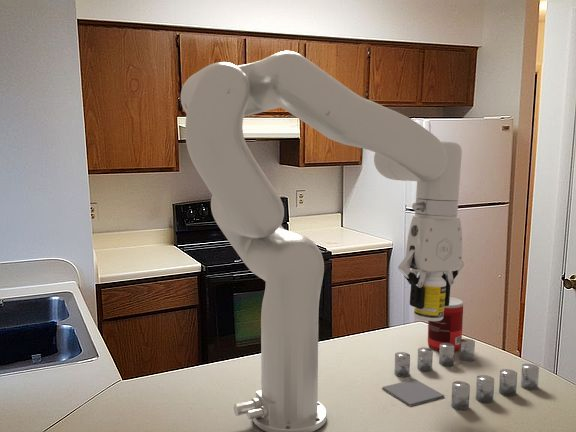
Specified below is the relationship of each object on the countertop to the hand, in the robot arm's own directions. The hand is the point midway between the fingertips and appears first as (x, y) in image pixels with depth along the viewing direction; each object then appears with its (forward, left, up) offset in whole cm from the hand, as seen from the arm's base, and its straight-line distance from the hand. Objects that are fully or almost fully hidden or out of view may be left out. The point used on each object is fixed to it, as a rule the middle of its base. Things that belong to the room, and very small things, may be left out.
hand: (429, 304), depth 101 cm
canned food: (+20, +16, -17) cm, 30 cm away
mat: (-3, 0, -16) cm, 17 cm away
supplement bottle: (0, 0, -3) cm, 3 cm away
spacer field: (+10, 0, -17) cm, 19 cm away
